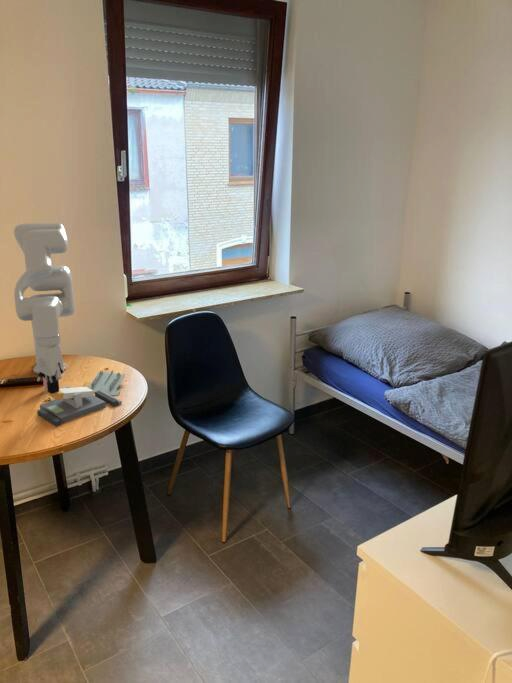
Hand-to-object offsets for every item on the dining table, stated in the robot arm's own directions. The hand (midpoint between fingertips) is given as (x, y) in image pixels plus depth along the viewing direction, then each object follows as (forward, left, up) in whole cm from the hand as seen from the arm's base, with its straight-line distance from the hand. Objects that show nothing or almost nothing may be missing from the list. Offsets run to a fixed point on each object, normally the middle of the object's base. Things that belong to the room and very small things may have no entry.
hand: (53, 391), depth 181 cm
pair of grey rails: (+2, +8, -9) cm, 12 cm away
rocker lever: (0, +6, -4) cm, 7 cm away
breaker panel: (0, +7, -9) cm, 11 cm away
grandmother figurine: (-19, +8, -9) cm, 23 cm away
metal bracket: (-8, +25, -10) cm, 28 cm away
